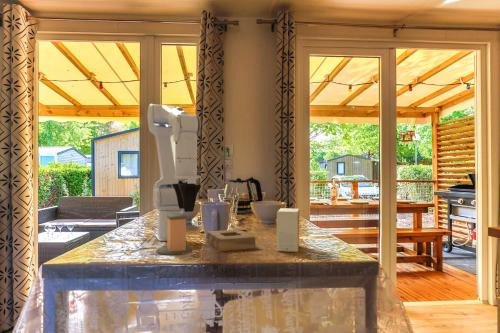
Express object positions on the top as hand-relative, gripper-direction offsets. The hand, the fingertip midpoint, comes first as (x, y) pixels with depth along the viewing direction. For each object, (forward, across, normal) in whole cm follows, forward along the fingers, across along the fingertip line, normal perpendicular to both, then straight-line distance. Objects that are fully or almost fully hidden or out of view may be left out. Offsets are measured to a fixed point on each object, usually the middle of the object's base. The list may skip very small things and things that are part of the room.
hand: (185, 210), depth 89 cm
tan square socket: (+10, 0, -13) cm, 16 cm away
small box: (+11, -9, -26) cm, 30 cm away
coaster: (+10, -1, +3) cm, 11 cm away
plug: (+10, -1, +3) cm, 10 cm away
